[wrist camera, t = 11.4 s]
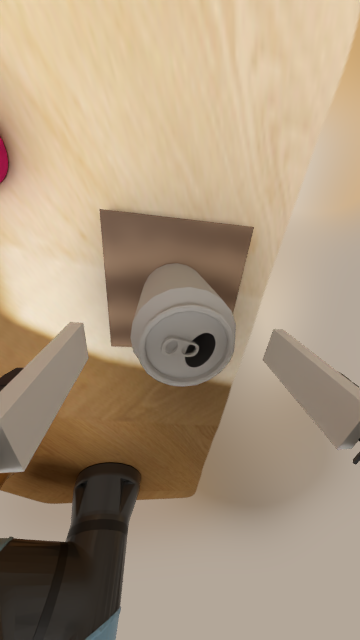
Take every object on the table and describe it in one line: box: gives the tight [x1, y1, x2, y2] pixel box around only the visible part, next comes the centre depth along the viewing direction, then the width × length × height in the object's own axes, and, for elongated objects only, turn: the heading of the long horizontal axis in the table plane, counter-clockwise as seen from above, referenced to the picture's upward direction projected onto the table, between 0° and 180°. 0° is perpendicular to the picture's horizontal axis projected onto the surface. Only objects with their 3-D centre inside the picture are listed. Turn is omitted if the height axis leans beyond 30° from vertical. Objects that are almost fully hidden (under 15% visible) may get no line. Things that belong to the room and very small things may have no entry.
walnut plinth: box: [100, 209, 254, 347], centre depth 23 cm, size 16×16×3 cm
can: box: [130, 263, 236, 387], centre depth 16 cm, size 8×8×12 cm
